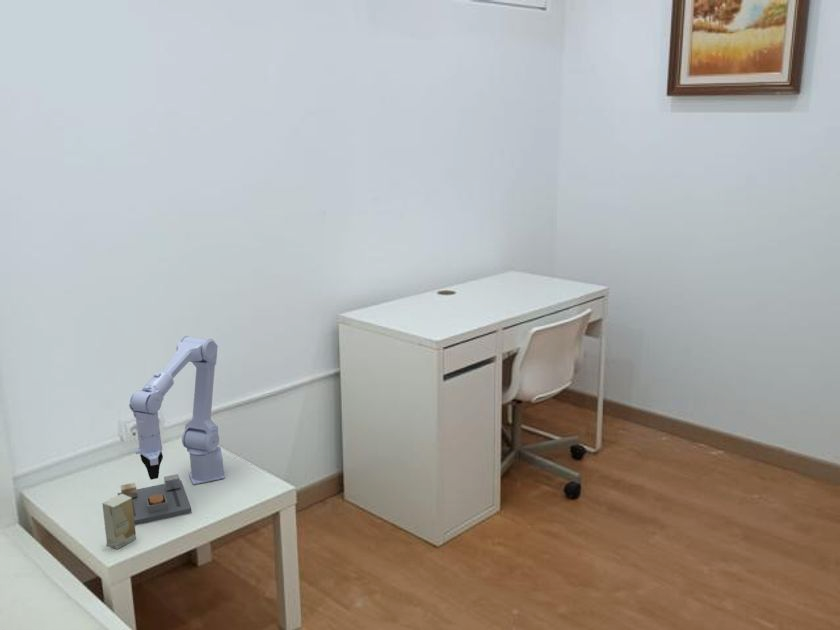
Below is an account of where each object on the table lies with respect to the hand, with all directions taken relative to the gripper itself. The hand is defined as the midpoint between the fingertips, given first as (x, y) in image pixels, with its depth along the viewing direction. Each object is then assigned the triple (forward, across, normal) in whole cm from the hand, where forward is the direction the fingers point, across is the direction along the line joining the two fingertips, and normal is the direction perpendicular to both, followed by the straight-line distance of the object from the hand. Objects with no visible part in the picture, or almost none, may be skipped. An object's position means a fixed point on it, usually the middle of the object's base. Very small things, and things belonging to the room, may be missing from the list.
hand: (154, 478), depth 217 cm
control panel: (+10, -4, 0) cm, 11 cm away
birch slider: (+8, -9, -6) cm, 14 cm away
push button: (+8, 0, 0) cm, 8 cm away
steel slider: (+8, -9, +5) cm, 13 cm away
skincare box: (+11, +12, -10) cm, 19 cm away
